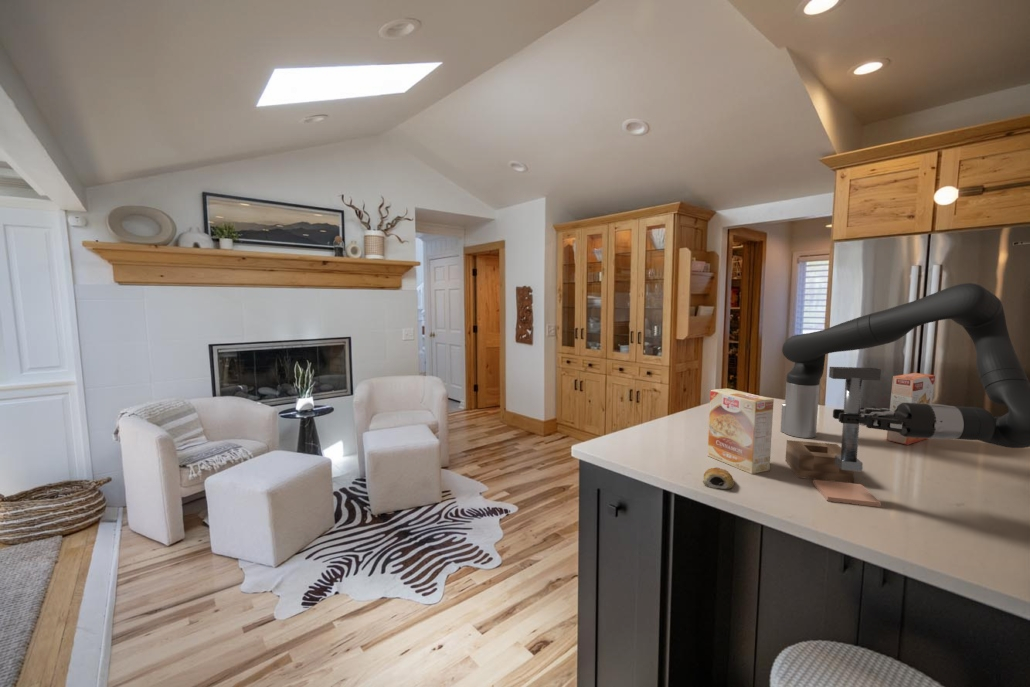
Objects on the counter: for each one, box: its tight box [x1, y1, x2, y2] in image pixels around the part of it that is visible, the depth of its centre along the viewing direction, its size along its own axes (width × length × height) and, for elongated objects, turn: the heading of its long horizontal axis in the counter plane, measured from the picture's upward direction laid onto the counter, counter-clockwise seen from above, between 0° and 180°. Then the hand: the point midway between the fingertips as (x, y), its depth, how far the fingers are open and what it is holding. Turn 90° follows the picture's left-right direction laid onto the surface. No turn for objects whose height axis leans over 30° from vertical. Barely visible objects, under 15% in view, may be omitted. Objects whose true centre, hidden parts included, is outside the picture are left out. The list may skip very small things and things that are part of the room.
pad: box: [812, 479, 882, 508], centre depth 106 cm, size 10×10×1 cm
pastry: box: [702, 467, 734, 490], centre depth 113 cm, size 9×7×4 cm
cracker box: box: [886, 372, 936, 446], centre depth 144 cm, size 14×6×21 cm, turn 118°
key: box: [828, 366, 882, 472], centre depth 104 cm, size 9×4×23 cm, turn 73°
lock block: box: [785, 439, 855, 484], centre depth 120 cm, size 12×12×6 cm
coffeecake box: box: [707, 388, 775, 475], centre depth 125 cm, size 15×7×20 cm, turn 23°
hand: (836, 415), depth 105 cm, fingers closed on key, 3 cm apart
